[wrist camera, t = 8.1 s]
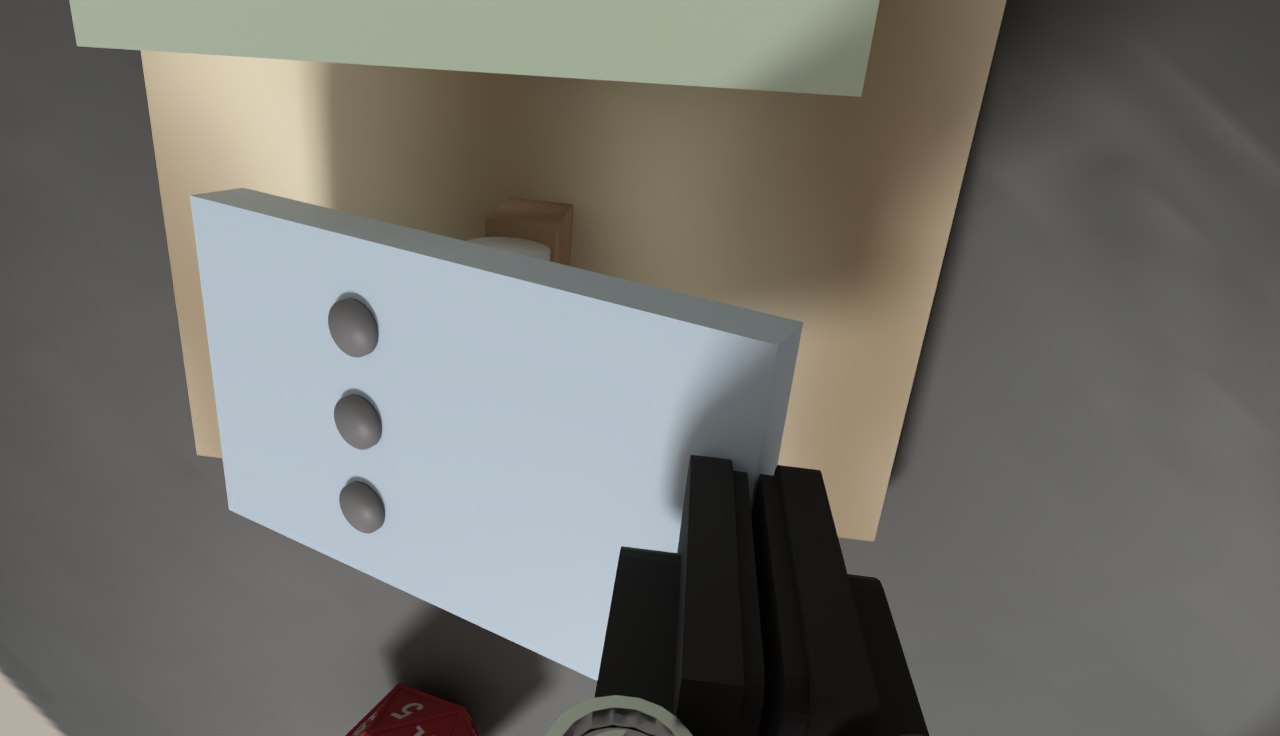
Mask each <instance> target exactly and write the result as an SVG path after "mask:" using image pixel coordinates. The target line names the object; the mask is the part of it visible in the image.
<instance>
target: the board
mask: <svg viewBox="0 0 1280 736" xmlns="http://www.w3.org/2000/svg"><path fill="white" fill-rule="evenodd" d="M1006 1H1007V0H880V1H879V6H878V11H877V16H876V22H875V27H874V32H873V38H872V43H871V48H870V53H869V59H868V64H867V69H866V75H865V80H864V85H863V91H862V96H861V97H857V96H841V95H826V94H810V93H795V92H779V91H764V90H748V89H733V88H717V87H702V86H686V85H671V84H655V83H640V82H625V81H609V80H594V79H578V78H563V77H547V76H532V75H516V74H501V73H485V72H470V71H454V70H439V69H423V68H408V67H392V66H377V65H362V64H346V63H331V62H315V61H300V60H284V59H269V58H253V57H238V56H222V55H207V54H191V53H176V52H160V51H145V50H141V56H142V63H143V71H144V78H145V85H146V92H147V99H148V107H149V114H150V121H151V128H152V135H153V142H154V150H155V157H156V164H157V171H158V178H159V185H160V193H161V200H162V207H163V214H164V221H165V229H166V236H167V243H168V250H169V257H170V264H171V272H172V279H173V286H174V293H175V300H176V308H177V315H178V322H179V329H180V336H181V343H182V351H183V358H184V365H185V372H186V379H187V387H188V394H189V401H190V408H191V415H192V422H193V430H194V437H195V444H196V451H197V455H202V456H209V457H217V458H223V457H222V449H221V441H220V433H219V425H218V417H217V409H216V401H215V393H214V385H213V377H212V369H211V361H210V354H209V346H208V338H207V330H206V322H205V314H204V306H203V298H202V290H201V282H200V274H199V266H198V258H197V250H196V242H195V234H194V226H193V218H192V210H191V202H190V195H196V194H203V193H209V192H216V191H223V190H230V189H237V188H247V189H251V190H255V191H259V192H263V193H267V194H272V195H276V196H280V197H284V198H288V199H292V200H297V201H301V202H305V203H309V204H313V205H317V206H321V207H326V208H330V209H334V210H338V211H342V212H346V213H351V214H355V215H359V216H363V217H367V218H371V219H376V220H380V221H384V222H388V223H392V224H396V225H401V226H405V227H409V228H413V229H417V230H421V231H426V232H430V233H434V234H438V235H442V236H446V237H451V238H455V239H459V240H463V241H467V240H471V239H475V238H482V237H512V238H521V239H527V240H532V241H535V242H539V243H541V244H544V245H546V246H547V247H548V248H549V249H550V251H551V253H550V262H555V263H559V264H563V265H567V266H571V267H575V268H580V269H584V270H588V271H592V272H596V273H600V274H604V275H609V276H613V277H617V278H621V279H625V280H629V281H634V282H638V283H642V284H646V285H650V286H654V287H659V288H663V289H667V290H671V291H675V292H679V293H684V294H688V295H692V296H696V297H700V298H704V299H709V300H713V301H717V302H721V303H725V304H729V305H734V306H738V307H742V308H746V309H750V310H754V311H758V312H763V313H767V314H771V315H775V316H779V317H783V318H788V319H792V320H796V321H800V322H803V326H802V332H801V337H800V343H799V348H798V354H797V359H796V365H795V371H794V376H793V382H792V387H791V393H790V398H789V404H788V409H787V415H786V420H785V426H784V431H783V437H782V442H781V448H780V453H779V459H778V464H777V465H782V466H790V467H798V468H807V469H815V470H820V471H821V473H822V477H823V480H824V484H825V488H826V492H827V496H828V500H829V504H830V508H831V512H832V516H833V520H834V524H835V528H836V532H837V536H838V537H842V538H850V539H858V540H865V541H873V542H874V539H875V535H876V531H877V527H878V523H879V519H880V515H881V511H882V507H883V503H884V499H885V495H886V490H887V486H888V482H889V478H890V474H891V470H892V466H893V462H894V458H895V454H896V450H897V446H898V442H899V437H900V433H901V429H902V425H903V421H904V417H905V413H906V409H907V405H908V401H909V397H910V393H911V388H912V384H913V380H914V376H915V372H916V368H917V364H918V360H919V356H920V352H921V348H922V344H923V339H924V335H925V331H926V327H927V323H928V319H929V315H930V311H931V307H932V303H933V299H934V295H935V290H936V286H937V282H938V278H939V274H940V270H941V266H942V262H943V258H944V254H945V250H946V246H947V241H948V237H949V233H950V229H951V225H952V221H953V217H954V213H955V209H956V205H957V201H958V197H959V192H960V188H961V184H962V180H963V176H964V172H965V168H966V164H967V160H968V156H969V152H970V148H971V144H972V139H973V135H974V131H975V127H976V123H977V119H978V115H979V111H980V107H981V103H982V99H983V95H984V90H985V86H986V82H987V78H988V74H989V70H990V66H991V62H992V58H993V54H994V50H995V46H996V41H997V37H998V33H999V29H1000V25H1001V21H1002V17H1003V13H1004V9H1005V5H1006Z"/></svg>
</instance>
